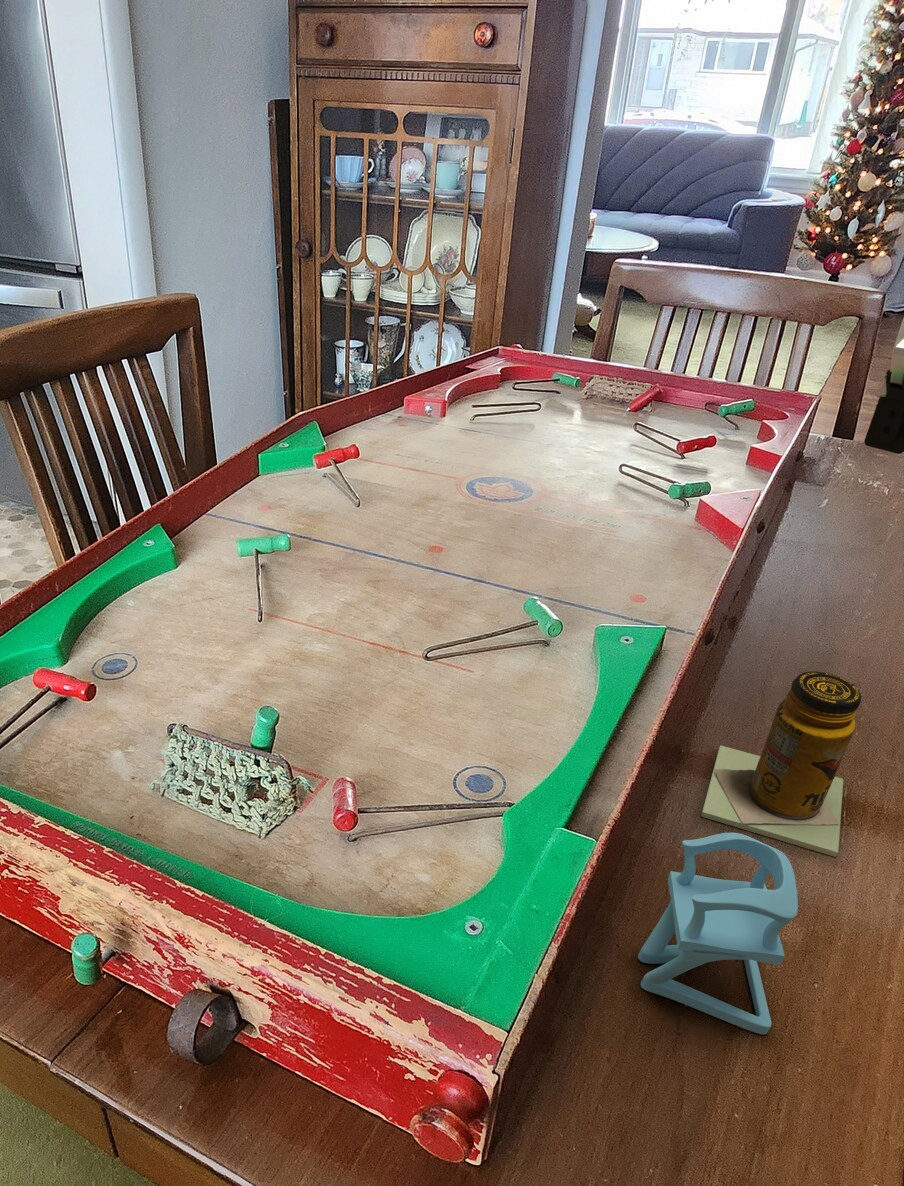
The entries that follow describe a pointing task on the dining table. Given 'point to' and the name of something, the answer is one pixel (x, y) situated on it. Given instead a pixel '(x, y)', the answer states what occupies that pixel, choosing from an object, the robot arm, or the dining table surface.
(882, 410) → the robot arm
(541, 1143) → the dining table surface
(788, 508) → the dining table surface
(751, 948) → the chair
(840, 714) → the condiment
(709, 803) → the mat
